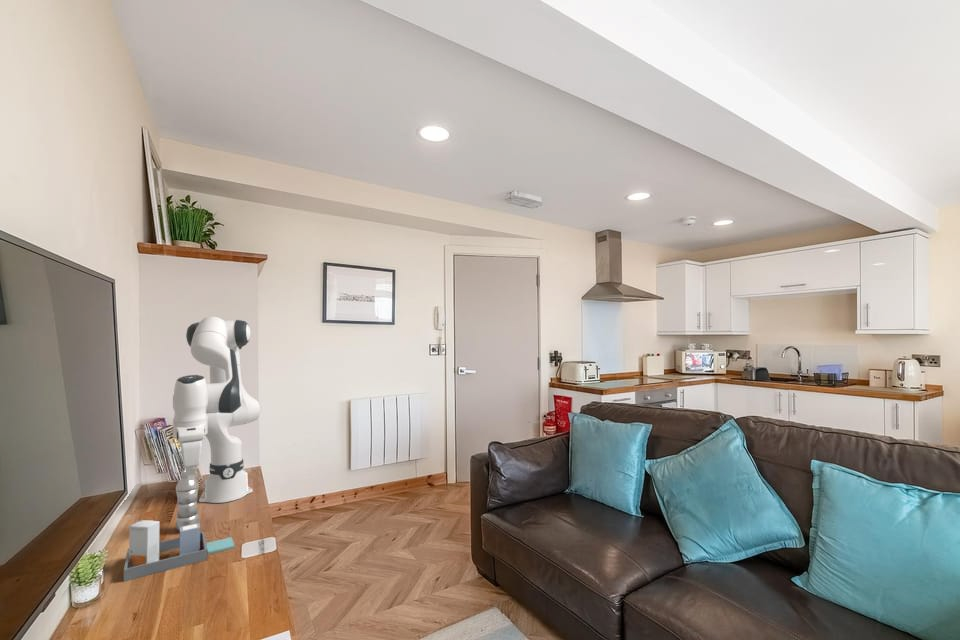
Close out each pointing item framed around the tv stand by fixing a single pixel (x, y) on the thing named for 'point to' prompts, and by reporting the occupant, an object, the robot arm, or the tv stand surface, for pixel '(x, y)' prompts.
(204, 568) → the tv stand surface
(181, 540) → the slate box
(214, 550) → the pad
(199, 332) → the robot arm
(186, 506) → the plastic bottle
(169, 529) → the tv stand surface
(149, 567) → the bin
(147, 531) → the skincare box
